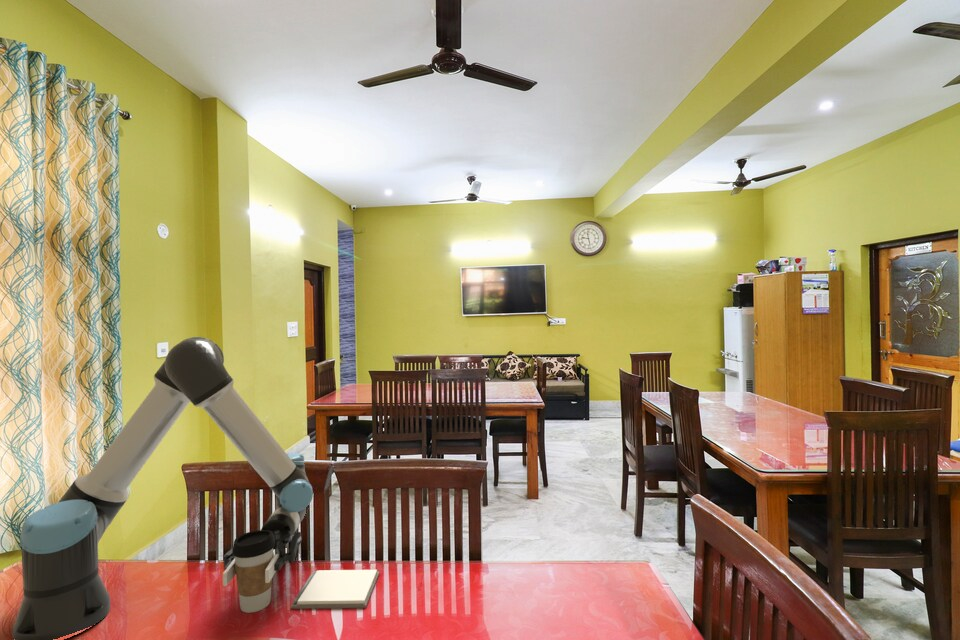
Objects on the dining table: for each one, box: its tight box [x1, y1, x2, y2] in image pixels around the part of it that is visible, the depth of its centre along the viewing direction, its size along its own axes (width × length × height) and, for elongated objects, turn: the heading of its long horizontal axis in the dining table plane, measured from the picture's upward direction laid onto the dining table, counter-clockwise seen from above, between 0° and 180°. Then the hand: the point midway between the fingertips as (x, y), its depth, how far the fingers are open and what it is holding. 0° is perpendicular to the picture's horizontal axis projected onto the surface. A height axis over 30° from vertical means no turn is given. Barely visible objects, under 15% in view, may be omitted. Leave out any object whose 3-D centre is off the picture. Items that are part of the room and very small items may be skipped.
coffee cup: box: [231, 529, 275, 614], centre depth 103 cm, size 8×8×15 cm
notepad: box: [290, 569, 380, 610], centre depth 107 cm, size 16×13×1 cm
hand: (246, 578), depth 98 cm, fingers closed on coffee cup, 8 cm apart
